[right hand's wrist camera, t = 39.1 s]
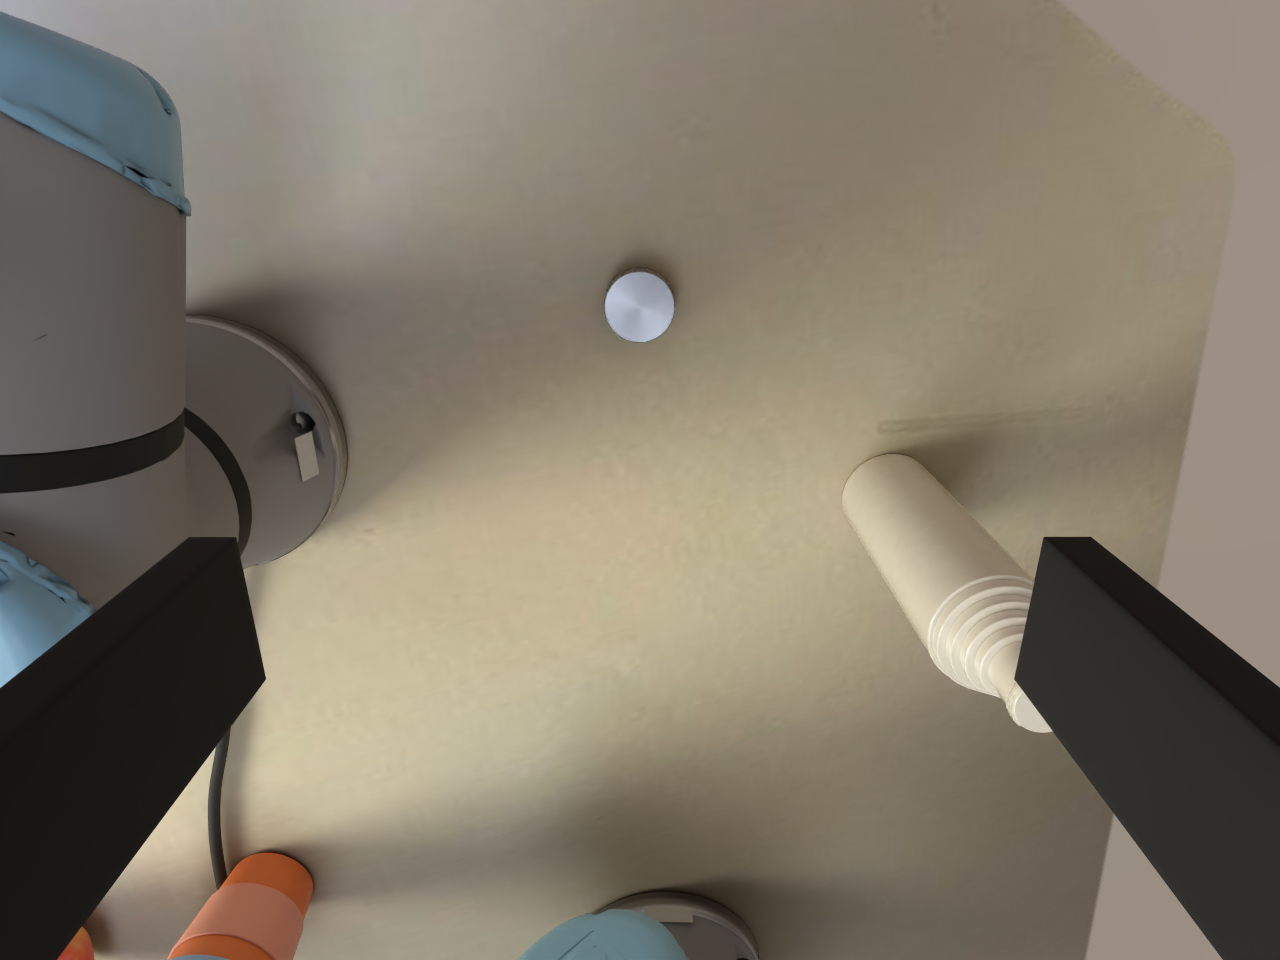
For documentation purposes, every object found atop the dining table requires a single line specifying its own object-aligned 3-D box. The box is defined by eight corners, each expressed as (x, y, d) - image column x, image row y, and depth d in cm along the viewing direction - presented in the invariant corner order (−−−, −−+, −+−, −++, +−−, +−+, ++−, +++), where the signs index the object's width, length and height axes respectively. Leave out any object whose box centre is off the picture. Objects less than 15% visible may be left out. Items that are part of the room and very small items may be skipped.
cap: (590, 296, 44) (588, 301, 42) (646, 251, 43) (646, 255, 41) (633, 350, 45) (632, 357, 43) (688, 308, 44) (689, 313, 43)
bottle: (897, 435, 47) (1074, 613, 28) (951, 498, 49) (1153, 708, 29) (823, 494, 48) (943, 702, 29) (877, 553, 50) (1026, 788, 31)
